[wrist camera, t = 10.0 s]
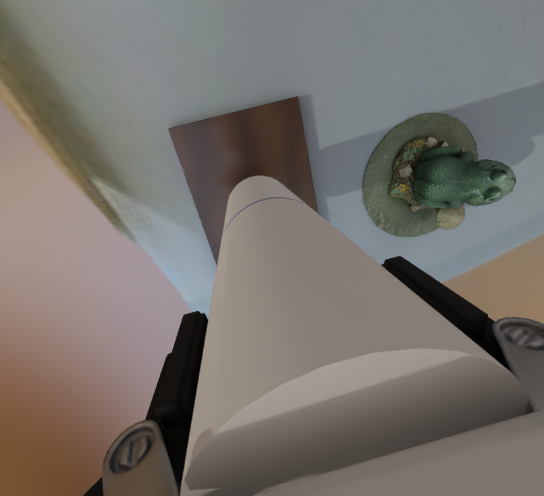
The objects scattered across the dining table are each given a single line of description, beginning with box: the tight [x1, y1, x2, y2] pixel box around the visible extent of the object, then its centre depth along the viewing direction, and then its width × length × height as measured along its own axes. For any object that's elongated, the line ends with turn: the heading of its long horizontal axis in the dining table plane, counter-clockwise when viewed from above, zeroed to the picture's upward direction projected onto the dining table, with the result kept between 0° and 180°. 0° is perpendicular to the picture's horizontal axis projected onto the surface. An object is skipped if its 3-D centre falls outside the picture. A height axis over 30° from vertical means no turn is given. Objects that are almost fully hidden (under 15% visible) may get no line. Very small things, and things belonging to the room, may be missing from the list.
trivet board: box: [169, 97, 317, 264], centre depth 35 cm, size 16×21×2 cm
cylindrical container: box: [180, 176, 531, 496], centre depth 17 cm, size 7×7×25 cm
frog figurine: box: [363, 113, 516, 237], centre depth 33 cm, size 18×18×12 cm
